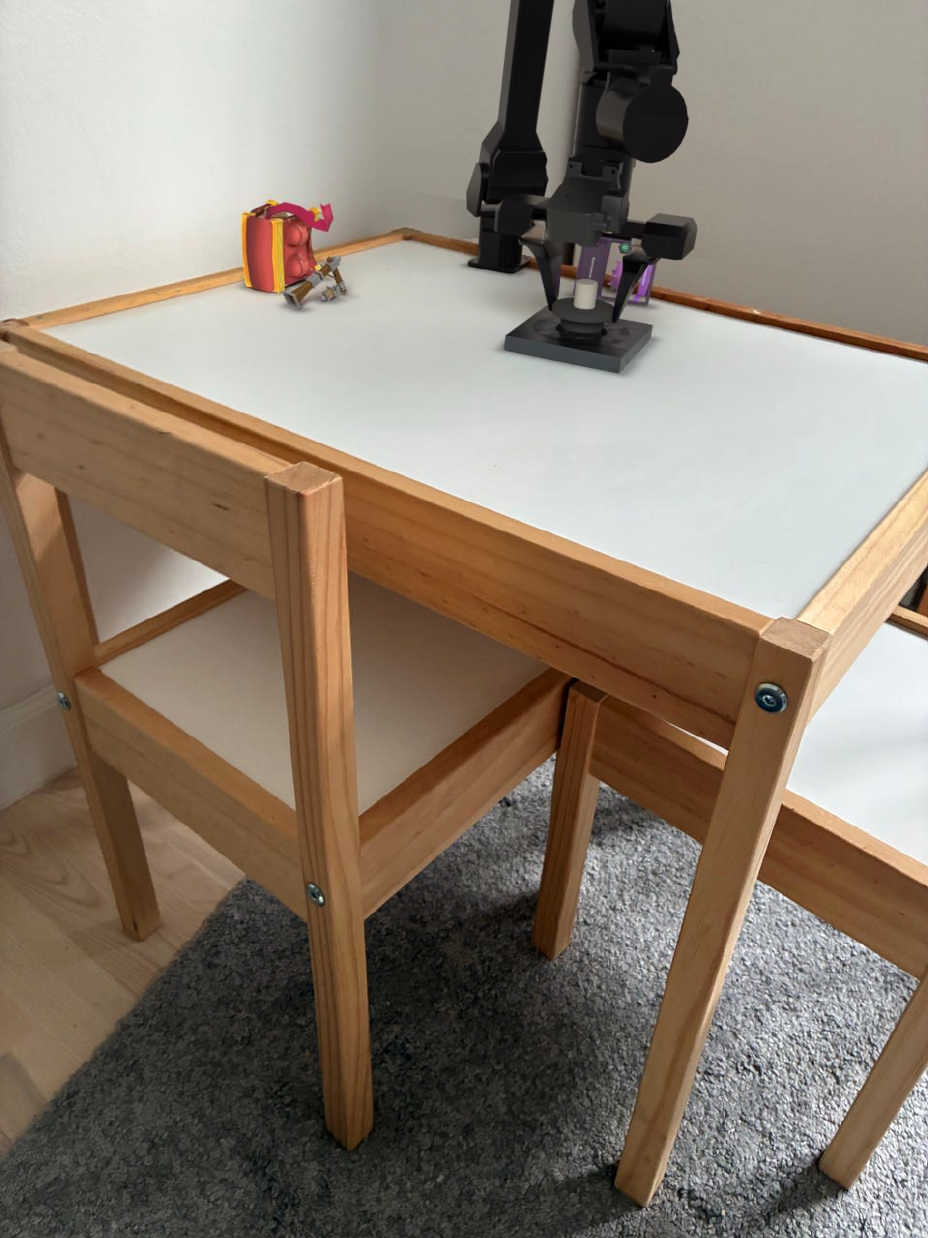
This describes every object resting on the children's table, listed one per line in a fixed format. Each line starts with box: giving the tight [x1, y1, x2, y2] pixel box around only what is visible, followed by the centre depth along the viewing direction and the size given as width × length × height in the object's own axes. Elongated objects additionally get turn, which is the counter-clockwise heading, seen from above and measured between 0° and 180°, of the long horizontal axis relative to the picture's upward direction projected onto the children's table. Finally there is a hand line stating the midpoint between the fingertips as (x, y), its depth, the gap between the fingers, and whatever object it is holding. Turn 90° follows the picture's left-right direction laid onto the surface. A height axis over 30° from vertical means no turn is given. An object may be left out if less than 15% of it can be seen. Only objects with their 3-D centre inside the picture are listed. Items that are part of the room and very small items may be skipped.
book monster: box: [240, 199, 334, 294], centre depth 101 cm, size 11×9×12 cm
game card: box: [572, 237, 658, 307], centre depth 106 cm, size 7×5×9 cm
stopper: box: [552, 279, 614, 333], centre depth 90 cm, size 6×6×4 cm
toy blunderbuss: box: [281, 255, 348, 311], centre depth 99 cm, size 2×8×4 cm, turn 138°
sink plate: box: [503, 305, 654, 374], centre depth 92 cm, size 12×12×2 cm
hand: (583, 315), depth 91 cm, fingers closed on stopper, 6 cm apart
